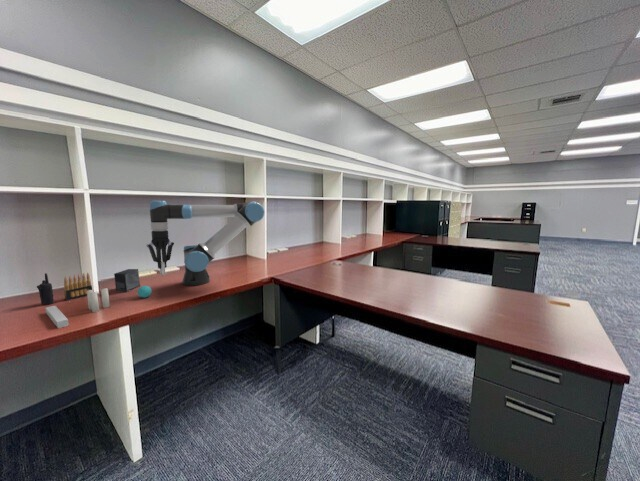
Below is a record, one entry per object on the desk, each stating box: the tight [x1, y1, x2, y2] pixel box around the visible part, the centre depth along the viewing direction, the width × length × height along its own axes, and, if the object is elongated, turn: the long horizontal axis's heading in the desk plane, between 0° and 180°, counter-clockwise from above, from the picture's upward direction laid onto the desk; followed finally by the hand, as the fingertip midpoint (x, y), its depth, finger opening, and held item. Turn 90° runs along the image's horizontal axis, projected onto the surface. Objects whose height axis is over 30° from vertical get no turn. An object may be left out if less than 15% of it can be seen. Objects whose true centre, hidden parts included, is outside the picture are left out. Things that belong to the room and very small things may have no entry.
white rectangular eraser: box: [45, 305, 69, 329], centre depth 108 cm, size 3×24×2 cm, turn 54°
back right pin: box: [86, 289, 95, 311], centre depth 119 cm, size 2×2×8 cm
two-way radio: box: [36, 272, 55, 305], centre depth 124 cm, size 6×4×15 cm
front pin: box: [100, 287, 111, 309], centre depth 121 cm, size 2×2×8 cm
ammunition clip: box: [63, 272, 93, 302], centre depth 133 cm, size 11×2×12 cm, turn 152°
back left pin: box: [90, 291, 100, 313], centre depth 116 cm, size 2×2×8 cm
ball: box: [137, 285, 152, 299], centre depth 134 cm, size 6×6×6 cm
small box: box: [113, 268, 141, 293], centre depth 147 cm, size 11×6×10 cm, turn 178°
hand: (162, 273), depth 140 cm, fingers closed
